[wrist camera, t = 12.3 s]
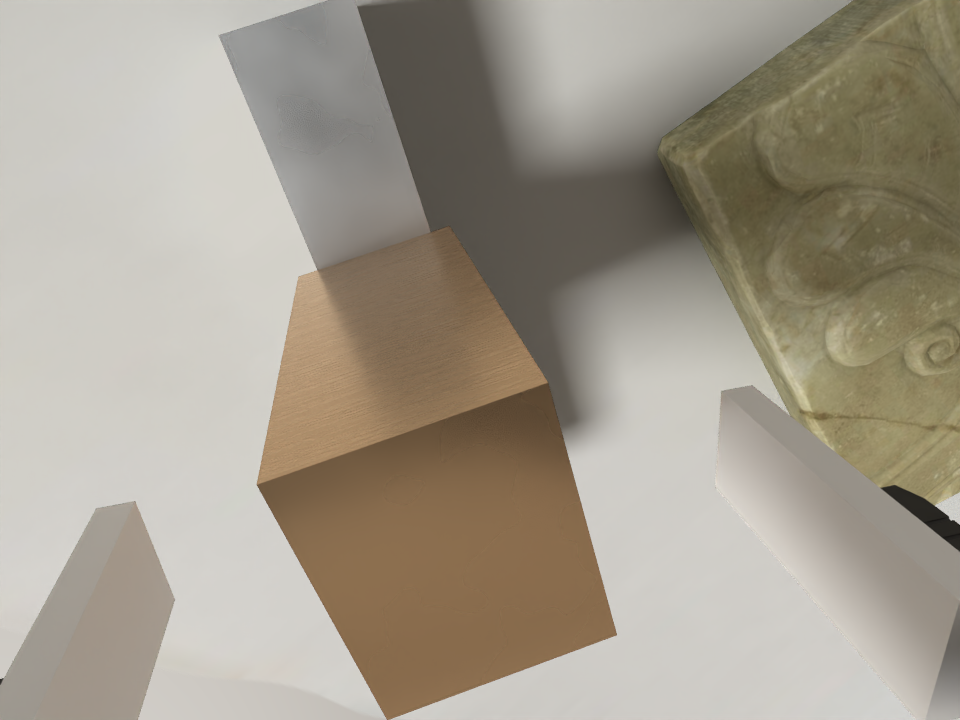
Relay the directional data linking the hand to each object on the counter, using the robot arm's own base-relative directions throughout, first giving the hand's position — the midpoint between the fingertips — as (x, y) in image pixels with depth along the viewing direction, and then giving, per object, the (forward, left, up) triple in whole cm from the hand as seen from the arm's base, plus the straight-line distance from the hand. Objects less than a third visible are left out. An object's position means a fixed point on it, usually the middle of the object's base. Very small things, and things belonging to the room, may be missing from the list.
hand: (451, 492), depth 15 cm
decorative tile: (-1, +21, -10) cm, 24 cm away
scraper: (-2, 0, -9) cm, 10 cm away
